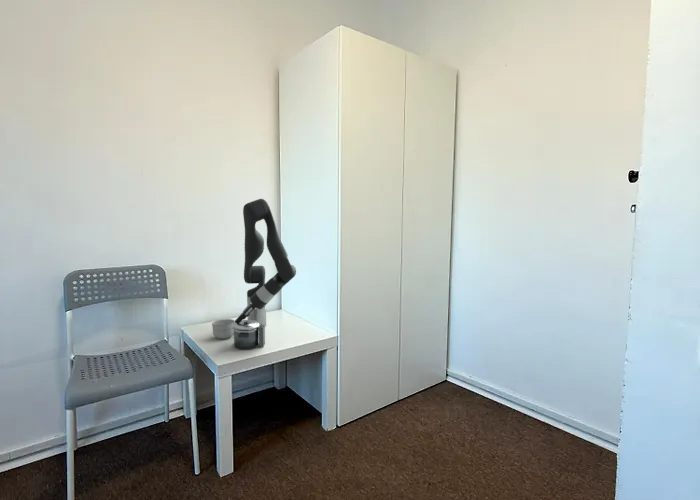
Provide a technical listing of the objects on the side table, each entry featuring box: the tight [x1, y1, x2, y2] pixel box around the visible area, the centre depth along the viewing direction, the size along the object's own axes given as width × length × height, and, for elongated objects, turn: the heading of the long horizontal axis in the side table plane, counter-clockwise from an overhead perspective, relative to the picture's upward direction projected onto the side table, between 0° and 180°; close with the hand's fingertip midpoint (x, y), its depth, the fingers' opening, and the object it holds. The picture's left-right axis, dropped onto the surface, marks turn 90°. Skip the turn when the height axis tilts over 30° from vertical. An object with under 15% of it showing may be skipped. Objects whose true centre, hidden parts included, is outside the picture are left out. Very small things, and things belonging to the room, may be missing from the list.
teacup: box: [211, 318, 235, 340], centre depth 200 cm, size 14×11×8 cm
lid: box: [233, 319, 259, 331], centre depth 188 cm, size 12×12×2 cm
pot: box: [233, 324, 266, 351], centre depth 188 cm, size 14×14×9 cm
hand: (236, 322), depth 187 cm, fingers closed
